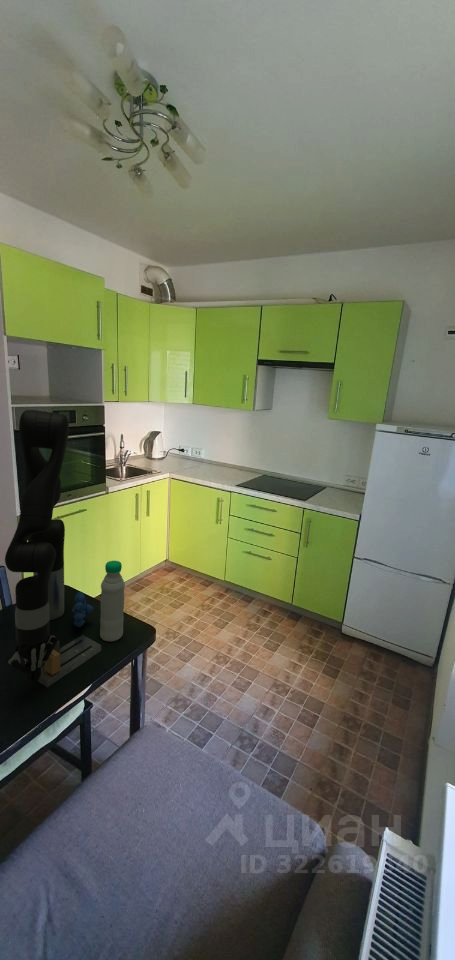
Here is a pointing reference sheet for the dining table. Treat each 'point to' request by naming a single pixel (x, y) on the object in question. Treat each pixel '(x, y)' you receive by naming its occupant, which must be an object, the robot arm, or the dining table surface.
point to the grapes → (80, 609)
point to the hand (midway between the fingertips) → (34, 679)
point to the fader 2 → (53, 663)
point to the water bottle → (112, 602)
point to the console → (70, 658)
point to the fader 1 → (56, 647)
